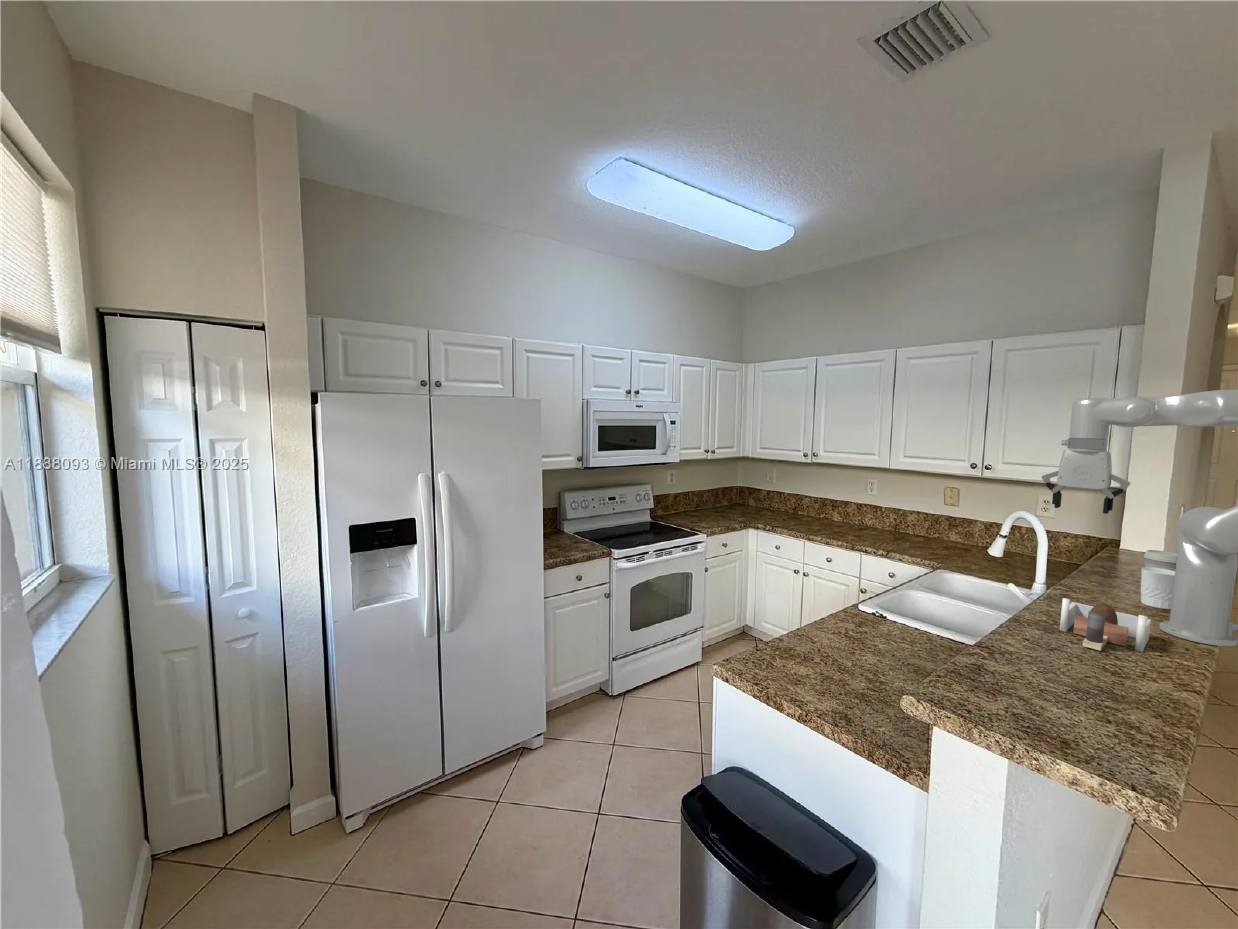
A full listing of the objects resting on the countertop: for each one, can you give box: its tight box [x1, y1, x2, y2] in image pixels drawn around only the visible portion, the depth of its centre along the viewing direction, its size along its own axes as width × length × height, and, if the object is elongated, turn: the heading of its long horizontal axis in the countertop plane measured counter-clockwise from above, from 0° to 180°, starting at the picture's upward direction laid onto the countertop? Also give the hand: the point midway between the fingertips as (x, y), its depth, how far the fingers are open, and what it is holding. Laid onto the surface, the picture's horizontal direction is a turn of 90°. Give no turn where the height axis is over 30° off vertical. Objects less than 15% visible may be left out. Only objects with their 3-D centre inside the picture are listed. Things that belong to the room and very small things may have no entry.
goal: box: [1059, 597, 1152, 653], centre depth 123 cm, size 11×15×8 cm
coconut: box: [1091, 603, 1118, 625], centre depth 122 cm, size 5×5×8 cm
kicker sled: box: [1072, 611, 1128, 652], centre depth 117 cm, size 10×9×8 cm
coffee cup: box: [1143, 549, 1177, 571], centre depth 158 cm, size 8×8×12 cm
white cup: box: [1140, 566, 1175, 610], centre depth 144 cm, size 8×8×10 cm
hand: (1080, 510), depth 134 cm, fingers open, 9 cm apart
